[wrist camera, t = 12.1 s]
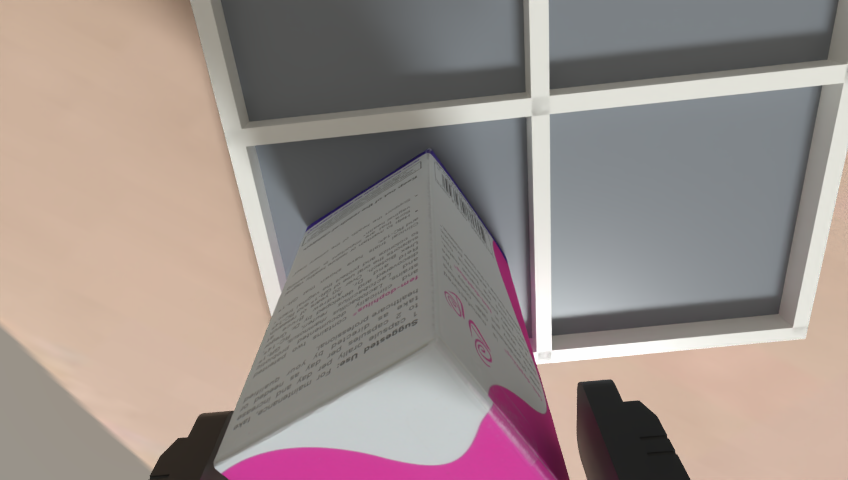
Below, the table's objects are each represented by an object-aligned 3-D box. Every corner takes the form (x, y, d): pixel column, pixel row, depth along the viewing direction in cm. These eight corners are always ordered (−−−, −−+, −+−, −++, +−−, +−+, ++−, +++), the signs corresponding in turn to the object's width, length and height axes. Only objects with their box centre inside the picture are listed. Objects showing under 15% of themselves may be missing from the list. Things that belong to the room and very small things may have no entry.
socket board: (898, -328, 16) (961, -366, 14) (776, 311, 25) (805, 338, 23) (155, -235, 16) (123, -261, 15) (298, 357, 25) (289, 387, 24)
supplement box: (299, 229, 22) (198, 467, 11) (430, 143, 20) (449, 324, 10) (388, 334, 24) (371, 616, 13) (512, 262, 22) (598, 514, 12)
